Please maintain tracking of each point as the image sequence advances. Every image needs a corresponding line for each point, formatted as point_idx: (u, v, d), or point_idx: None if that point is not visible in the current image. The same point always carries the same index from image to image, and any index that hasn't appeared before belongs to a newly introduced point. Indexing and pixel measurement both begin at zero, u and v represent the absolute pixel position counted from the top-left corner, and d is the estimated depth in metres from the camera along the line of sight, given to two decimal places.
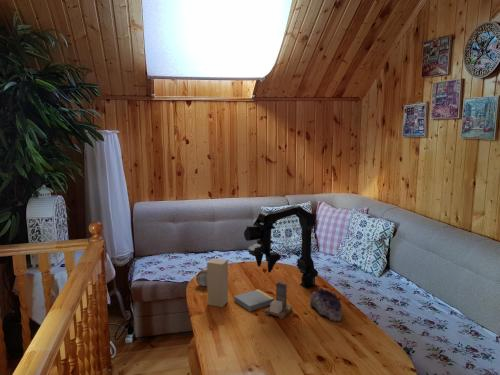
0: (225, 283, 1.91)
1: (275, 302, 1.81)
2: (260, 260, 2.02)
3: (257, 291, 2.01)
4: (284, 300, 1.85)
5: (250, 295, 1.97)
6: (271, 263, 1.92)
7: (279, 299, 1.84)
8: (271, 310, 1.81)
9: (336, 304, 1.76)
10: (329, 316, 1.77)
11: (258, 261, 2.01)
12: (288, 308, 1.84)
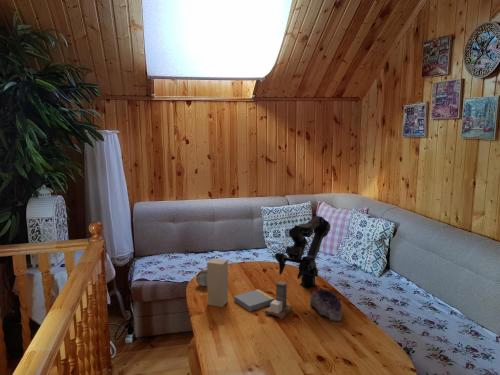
0: (225, 283, 1.91)
1: (275, 302, 1.81)
2: (282, 269, 1.96)
3: (257, 291, 2.01)
4: (284, 300, 1.85)
5: (250, 295, 1.97)
6: (303, 270, 1.91)
7: (279, 299, 1.84)
8: (271, 310, 1.81)
9: (336, 304, 1.76)
10: (329, 316, 1.77)
11: (281, 269, 1.95)
12: (288, 308, 1.84)
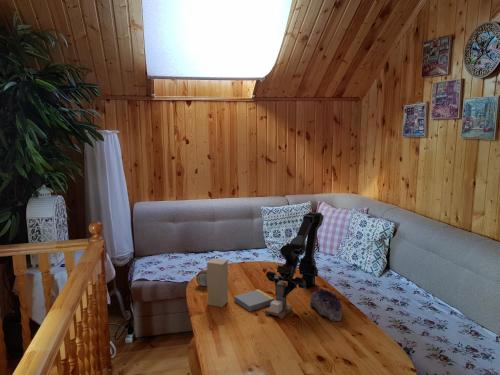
0: (225, 283, 1.91)
1: (275, 302, 1.81)
2: None
3: (257, 291, 2.01)
4: (284, 300, 1.85)
5: (250, 295, 1.97)
6: (289, 288, 1.85)
7: (279, 299, 1.84)
8: (271, 310, 1.81)
9: (336, 304, 1.75)
10: (329, 316, 1.77)
11: None
12: (288, 308, 1.84)
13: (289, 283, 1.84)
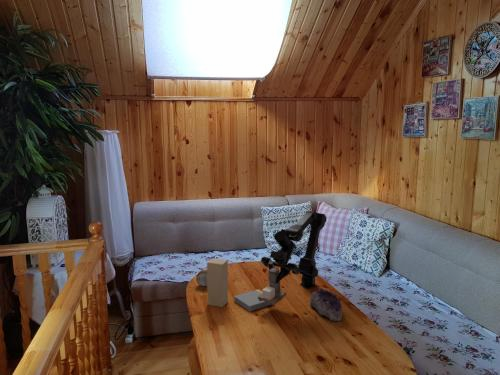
0: (225, 283, 1.91)
1: (267, 289, 1.83)
2: None
3: (257, 291, 2.01)
4: (277, 286, 1.86)
5: (250, 295, 1.97)
6: (282, 274, 1.86)
7: (272, 285, 1.86)
8: (263, 296, 1.83)
9: (336, 304, 1.75)
10: (329, 316, 1.77)
11: None
12: (281, 294, 1.86)
13: (282, 269, 1.85)
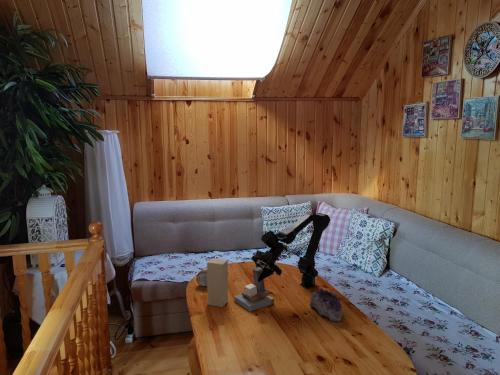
0: (225, 283, 1.91)
1: (249, 286, 1.92)
2: None
3: None
4: (260, 285, 1.93)
5: None
6: (265, 273, 1.92)
7: (255, 284, 1.94)
8: (246, 293, 1.93)
9: (336, 304, 1.75)
10: (329, 316, 1.77)
11: None
12: (264, 293, 1.93)
13: (264, 268, 1.91)
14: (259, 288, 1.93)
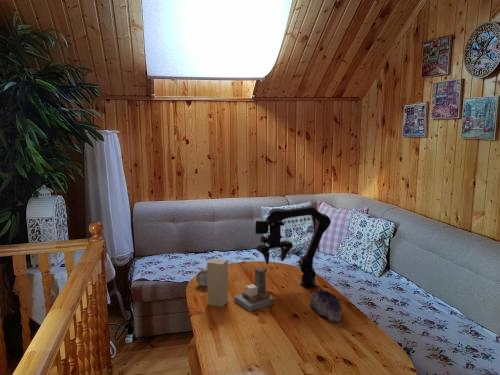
0: (225, 283, 1.91)
1: (250, 286, 1.93)
2: (283, 256, 2.12)
3: None
4: (261, 286, 1.94)
5: None
6: (265, 255, 2.07)
7: (256, 284, 1.95)
8: (246, 293, 1.93)
9: (335, 305, 1.75)
10: (328, 317, 1.76)
11: (282, 256, 2.13)
12: (264, 294, 1.93)
13: None
14: (260, 289, 1.94)
